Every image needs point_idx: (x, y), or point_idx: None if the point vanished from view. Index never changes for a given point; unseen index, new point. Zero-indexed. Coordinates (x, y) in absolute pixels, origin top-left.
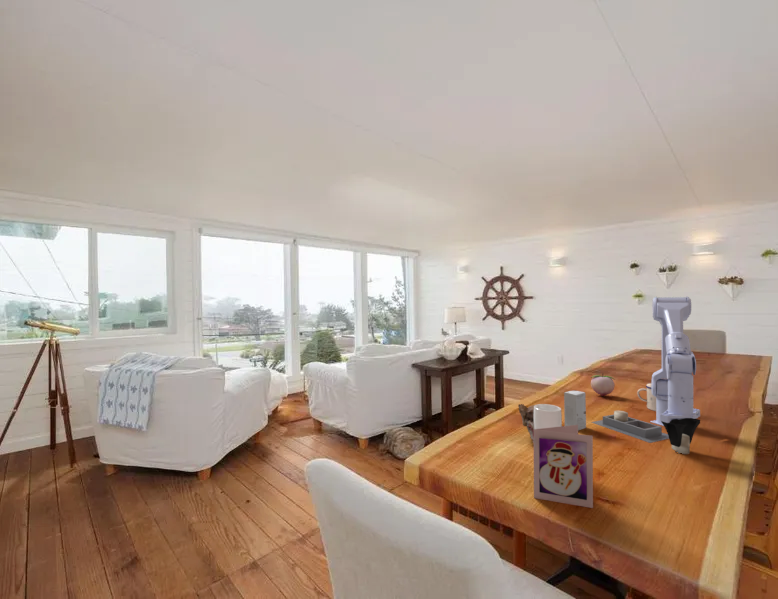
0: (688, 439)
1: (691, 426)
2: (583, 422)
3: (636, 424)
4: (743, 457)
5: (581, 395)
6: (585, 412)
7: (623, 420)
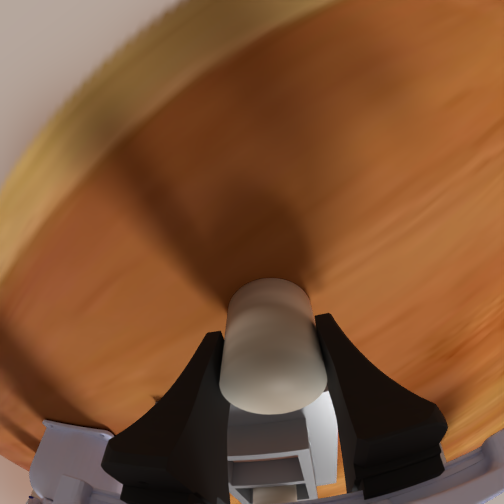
0: (261, 342)
1: (192, 432)
2: None
3: (242, 474)
4: (16, 192)
5: None
6: None
7: (284, 488)
